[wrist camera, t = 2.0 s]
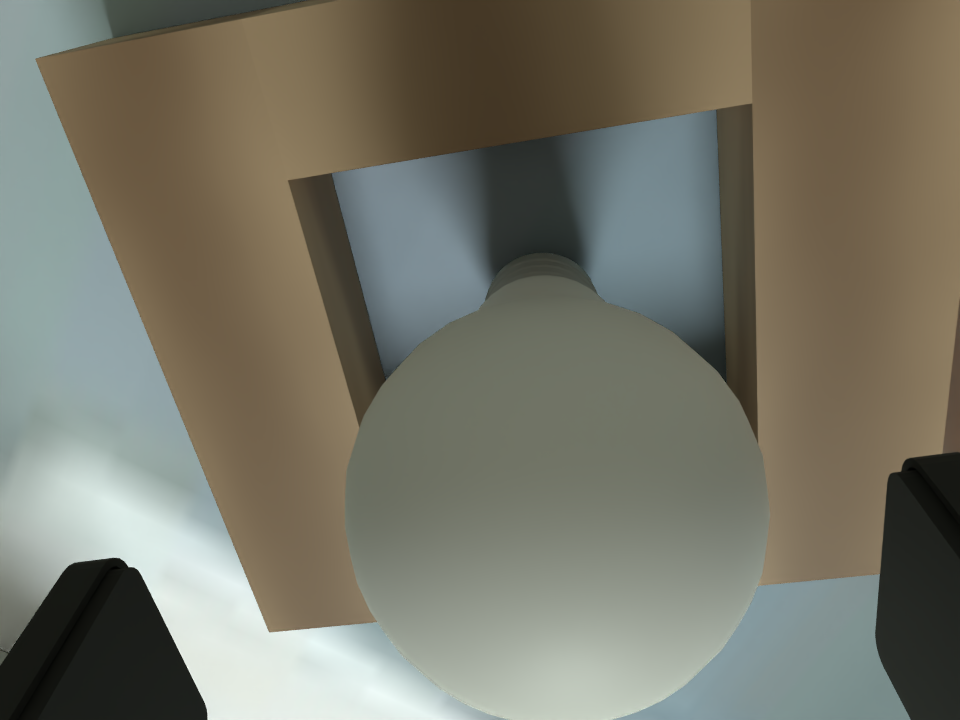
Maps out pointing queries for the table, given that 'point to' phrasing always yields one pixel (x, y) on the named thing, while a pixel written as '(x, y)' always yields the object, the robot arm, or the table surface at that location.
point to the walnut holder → (509, 119)
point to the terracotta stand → (954, 399)
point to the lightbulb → (556, 504)
